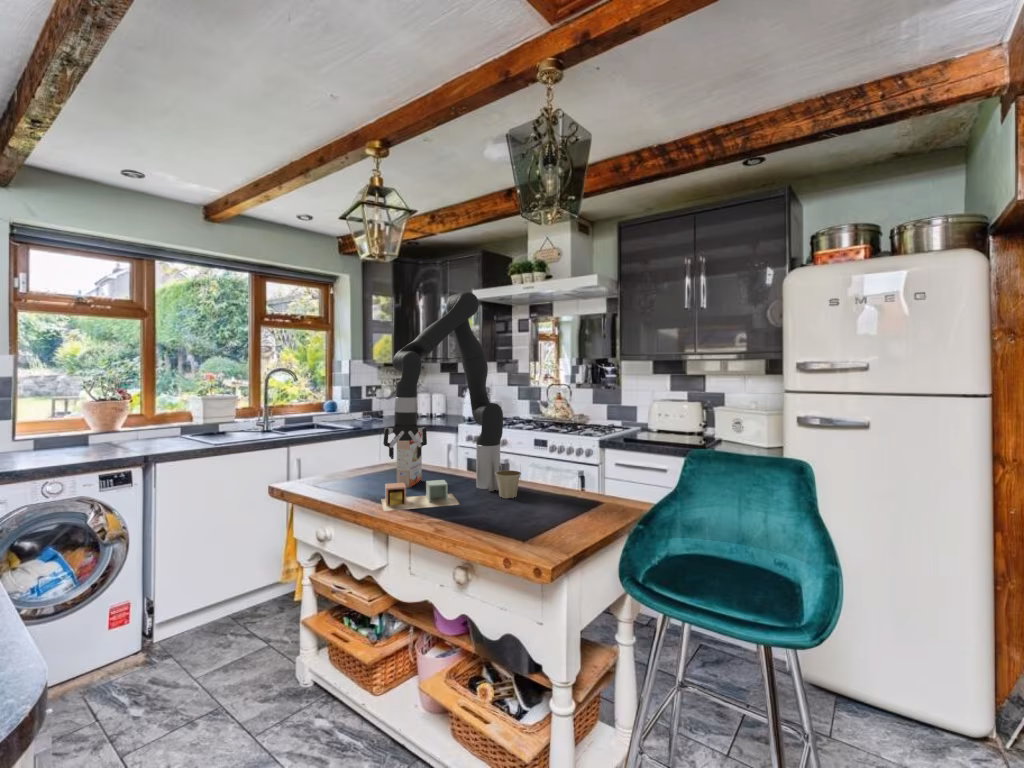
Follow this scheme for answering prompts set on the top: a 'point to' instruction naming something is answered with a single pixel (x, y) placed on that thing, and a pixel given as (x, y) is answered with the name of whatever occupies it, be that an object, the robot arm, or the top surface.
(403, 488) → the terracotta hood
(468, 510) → the top surface
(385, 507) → the board
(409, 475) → the cracker box
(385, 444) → the robot arm
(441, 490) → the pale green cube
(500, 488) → the flower pot
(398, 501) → the letter cube
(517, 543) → the top surface
